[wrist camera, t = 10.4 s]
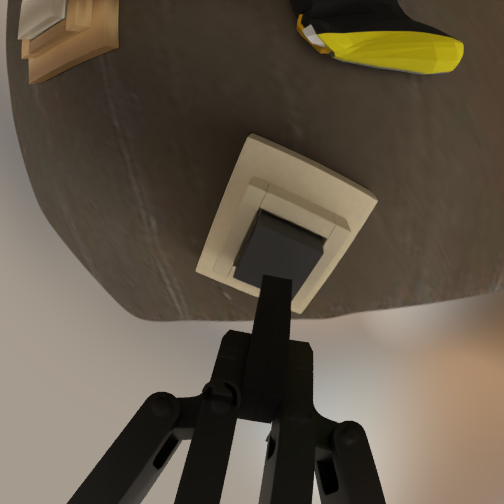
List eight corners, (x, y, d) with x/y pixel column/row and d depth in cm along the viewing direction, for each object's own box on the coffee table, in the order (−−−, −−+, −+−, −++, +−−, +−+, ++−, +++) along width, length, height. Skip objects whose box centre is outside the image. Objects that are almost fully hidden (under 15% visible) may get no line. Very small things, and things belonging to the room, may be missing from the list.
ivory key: (37, 1, 9) (22, 0, 8) (71, -21, 9) (55, -26, 7) (34, 39, 12) (17, 39, 10) (67, 18, 11) (50, 15, 9)
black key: (261, 210, 18) (258, 223, 16) (321, 237, 18) (324, 253, 17) (237, 261, 20) (232, 277, 18) (292, 283, 21) (291, 301, 19)
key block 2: (251, 132, 19) (242, 140, 15) (371, 191, 20) (386, 212, 16) (201, 258, 25) (187, 286, 22) (301, 300, 26) (300, 330, 22)
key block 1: (47, -10, 11) (21, -13, 7) (123, -52, 9) (100, -65, 6) (43, 82, 17) (14, 87, 14) (118, 48, 16) (88, 44, 12)
